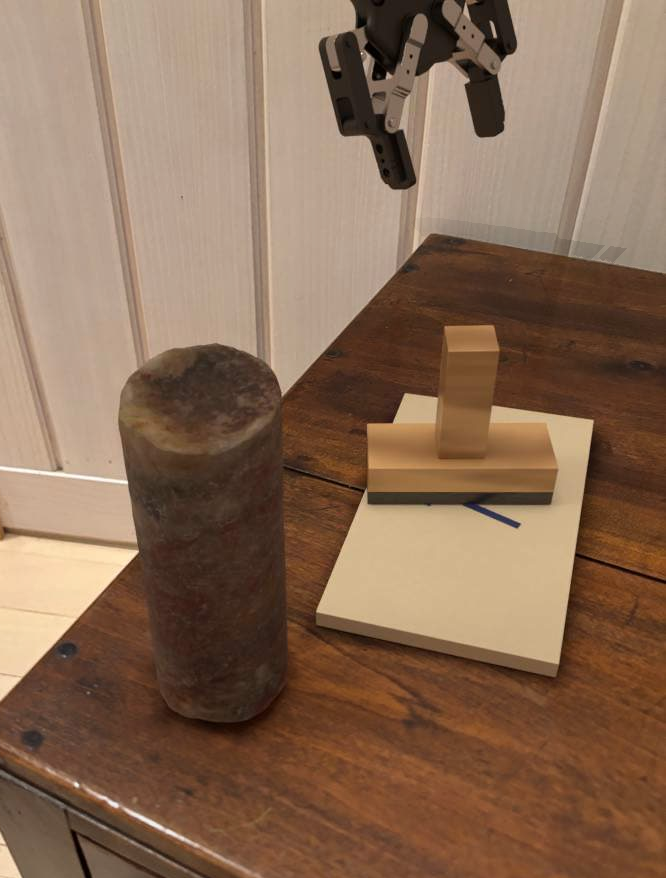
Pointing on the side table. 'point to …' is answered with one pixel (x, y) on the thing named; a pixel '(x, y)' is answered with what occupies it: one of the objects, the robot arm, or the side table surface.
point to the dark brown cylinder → (210, 526)
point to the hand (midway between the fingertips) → (448, 160)
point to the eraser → (462, 440)
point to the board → (467, 562)
